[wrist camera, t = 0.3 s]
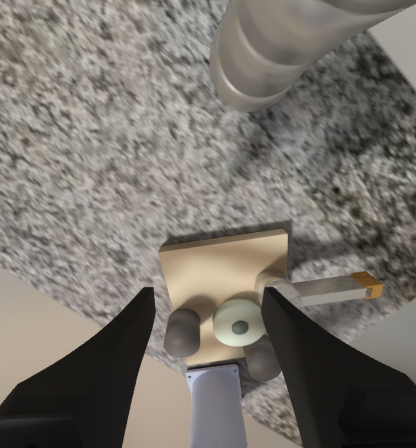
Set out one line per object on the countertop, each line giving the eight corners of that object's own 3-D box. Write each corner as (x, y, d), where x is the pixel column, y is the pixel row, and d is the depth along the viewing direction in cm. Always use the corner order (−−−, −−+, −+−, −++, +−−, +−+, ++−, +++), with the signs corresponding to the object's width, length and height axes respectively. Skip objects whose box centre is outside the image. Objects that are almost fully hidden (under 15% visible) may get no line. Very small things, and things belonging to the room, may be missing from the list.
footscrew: (355, 286, 23) (378, 306, 20) (255, 300, 23) (263, 322, 20) (359, 257, 21) (385, 273, 18) (253, 272, 22) (261, 291, 19)
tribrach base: (282, 341, 28) (298, 376, 24) (181, 355, 28) (178, 392, 24) (281, 228, 22) (302, 247, 17) (152, 247, 22) (140, 270, 18)
